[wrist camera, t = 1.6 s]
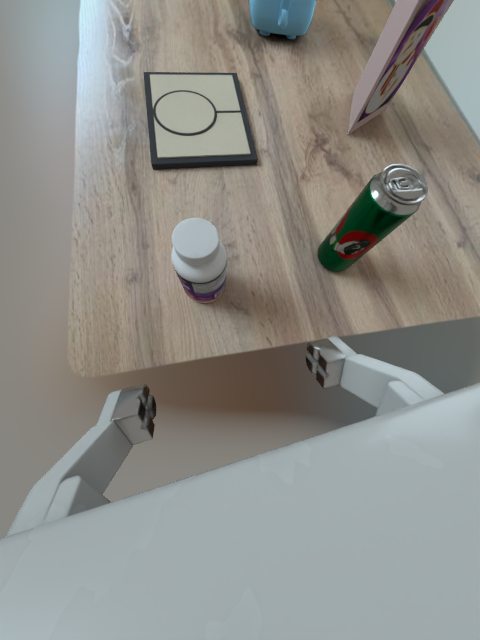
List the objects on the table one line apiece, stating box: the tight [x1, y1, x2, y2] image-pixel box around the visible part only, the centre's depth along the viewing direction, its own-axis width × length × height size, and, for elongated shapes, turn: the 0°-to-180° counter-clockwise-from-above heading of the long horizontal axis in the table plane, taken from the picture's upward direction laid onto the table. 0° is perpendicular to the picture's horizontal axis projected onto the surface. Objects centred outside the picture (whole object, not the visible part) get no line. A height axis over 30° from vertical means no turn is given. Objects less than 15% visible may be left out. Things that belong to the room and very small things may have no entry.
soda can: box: [318, 164, 428, 272], centre depth 23 cm, size 5×5×12 cm
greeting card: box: [348, 0, 454, 135], centre depth 30 cm, size 11×7×15 cm, turn 132°
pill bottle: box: [171, 218, 227, 303], centre depth 22 cm, size 5×5×10 cm
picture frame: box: [144, 72, 258, 169], centre depth 33 cm, size 16×20×1 cm
